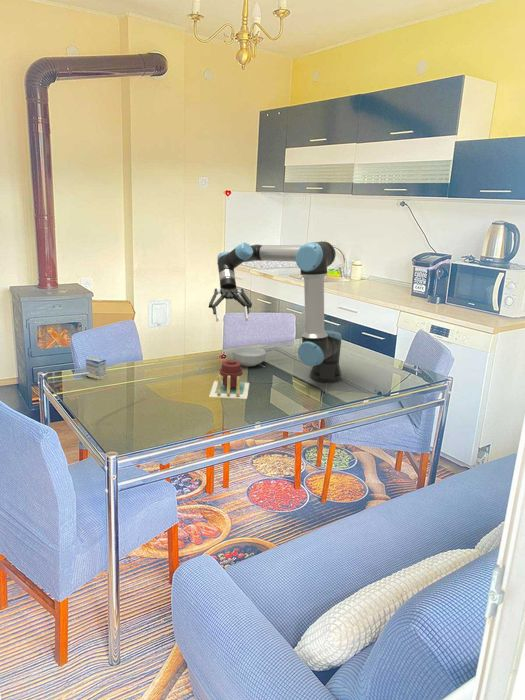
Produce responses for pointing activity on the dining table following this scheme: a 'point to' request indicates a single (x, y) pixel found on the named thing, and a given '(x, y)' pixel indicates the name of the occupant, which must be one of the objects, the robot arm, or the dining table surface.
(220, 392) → the pin
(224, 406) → the dining table surface
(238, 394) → the pin
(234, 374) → the mechanical component
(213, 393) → the header board
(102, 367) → the medicine box
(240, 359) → the cereal bowl
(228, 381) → the pin
